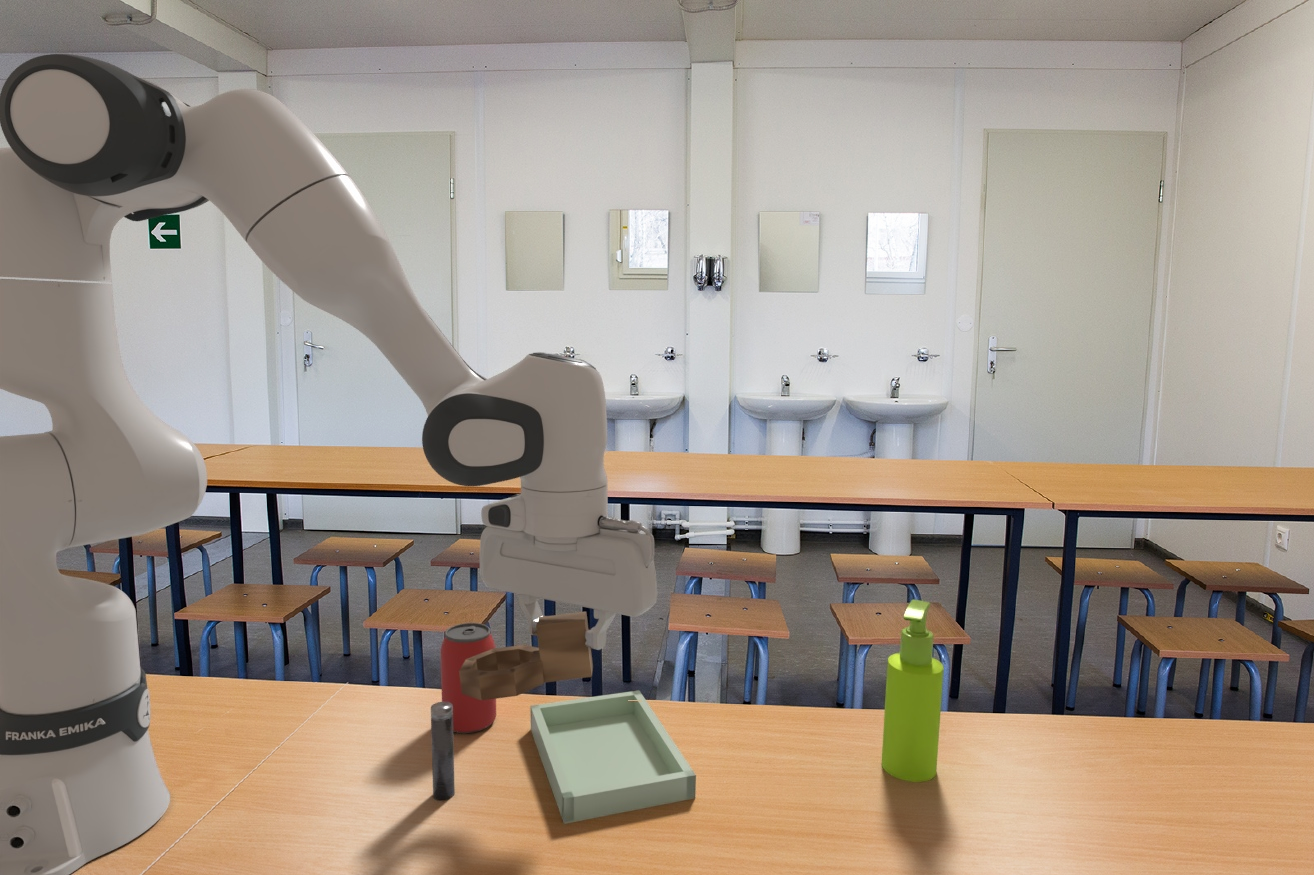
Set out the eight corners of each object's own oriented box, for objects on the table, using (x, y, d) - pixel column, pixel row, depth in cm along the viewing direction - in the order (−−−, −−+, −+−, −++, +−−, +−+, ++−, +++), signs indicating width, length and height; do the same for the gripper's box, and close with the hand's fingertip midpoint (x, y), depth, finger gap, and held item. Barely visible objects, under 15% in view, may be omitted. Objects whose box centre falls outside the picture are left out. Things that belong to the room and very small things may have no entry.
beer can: (502, 711, 101) (501, 622, 99) (486, 737, 94) (485, 642, 92) (453, 708, 101) (451, 619, 100) (434, 734, 95) (431, 640, 93)
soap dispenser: (874, 783, 86) (884, 609, 83) (887, 753, 92) (896, 590, 89) (929, 799, 83) (942, 619, 80) (939, 767, 89) (951, 599, 86)
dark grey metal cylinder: (433, 803, 81) (431, 713, 80) (432, 791, 83) (430, 703, 82) (455, 799, 82) (453, 710, 80) (453, 788, 84) (451, 700, 82)
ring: (473, 672, 85) (466, 619, 85) (593, 657, 86) (587, 604, 85) (456, 703, 77) (448, 644, 77) (590, 686, 77) (583, 627, 77)
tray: (563, 827, 77) (563, 798, 77) (530, 729, 96) (530, 705, 96) (695, 802, 82) (695, 775, 81) (638, 713, 101) (639, 690, 100)
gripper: (668, 516, 78) (668, 648, 80) (506, 496, 88) (509, 614, 89) (637, 530, 72) (637, 672, 74) (468, 507, 82) (472, 633, 84)
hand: (566, 640), depth 82 cm, fingers closed on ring, 6 cm apart
